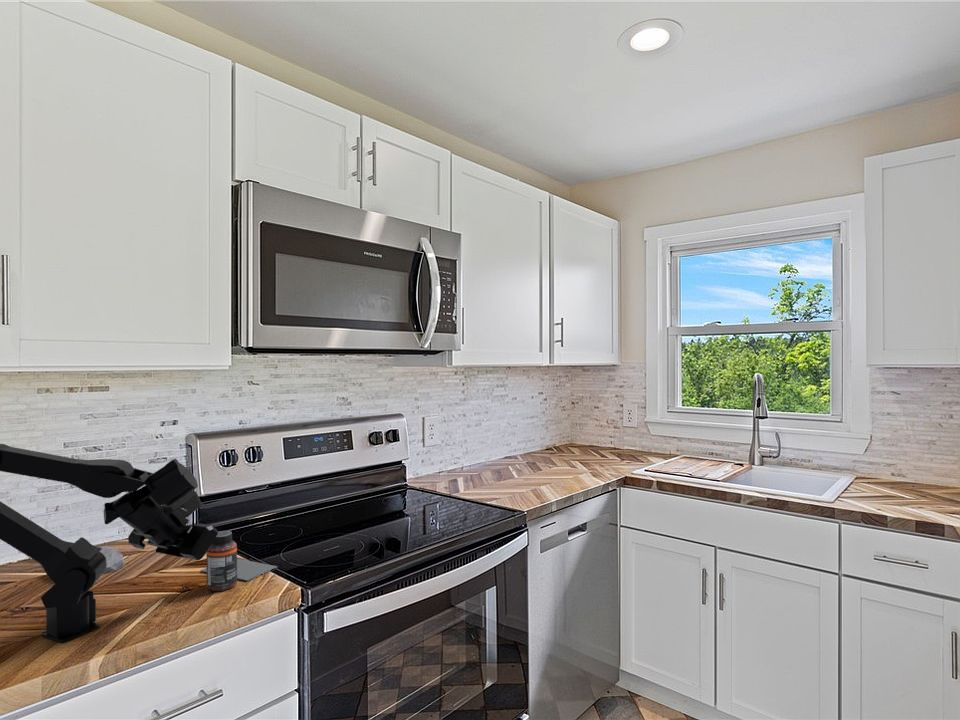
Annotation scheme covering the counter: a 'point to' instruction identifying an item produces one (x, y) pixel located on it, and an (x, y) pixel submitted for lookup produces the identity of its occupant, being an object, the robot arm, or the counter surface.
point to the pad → (249, 569)
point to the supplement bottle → (222, 562)
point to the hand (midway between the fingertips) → (198, 557)
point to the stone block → (112, 559)
